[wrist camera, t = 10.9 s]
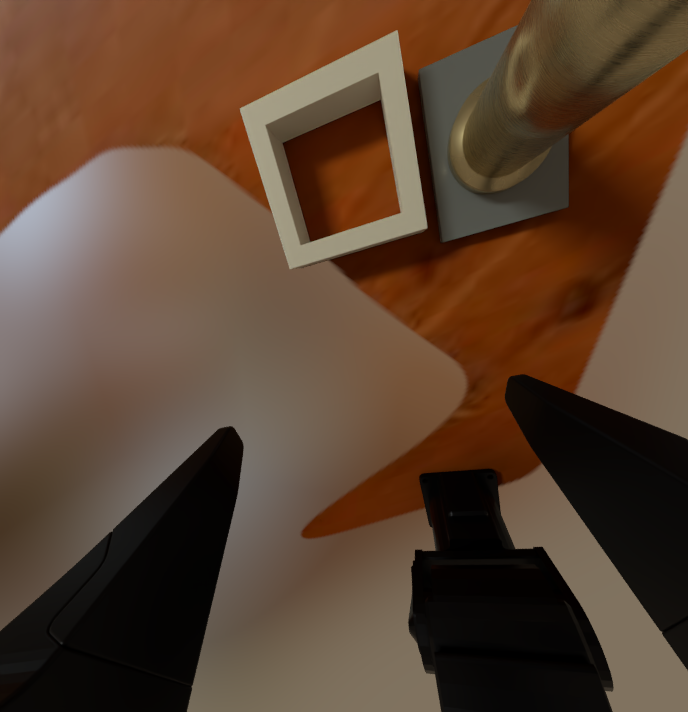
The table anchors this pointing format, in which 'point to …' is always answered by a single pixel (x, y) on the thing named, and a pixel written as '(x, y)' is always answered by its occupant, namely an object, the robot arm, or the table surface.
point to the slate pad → (440, 108)
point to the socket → (318, 107)
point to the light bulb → (558, 82)
